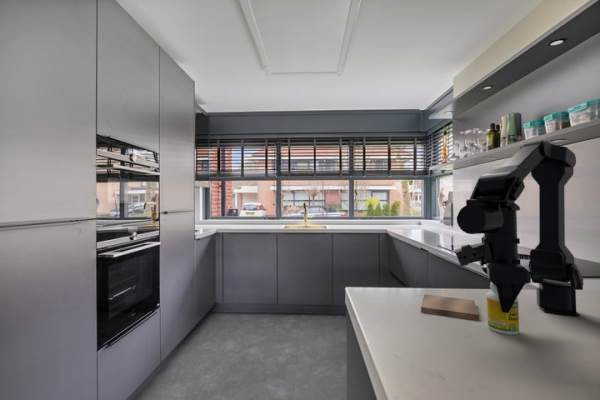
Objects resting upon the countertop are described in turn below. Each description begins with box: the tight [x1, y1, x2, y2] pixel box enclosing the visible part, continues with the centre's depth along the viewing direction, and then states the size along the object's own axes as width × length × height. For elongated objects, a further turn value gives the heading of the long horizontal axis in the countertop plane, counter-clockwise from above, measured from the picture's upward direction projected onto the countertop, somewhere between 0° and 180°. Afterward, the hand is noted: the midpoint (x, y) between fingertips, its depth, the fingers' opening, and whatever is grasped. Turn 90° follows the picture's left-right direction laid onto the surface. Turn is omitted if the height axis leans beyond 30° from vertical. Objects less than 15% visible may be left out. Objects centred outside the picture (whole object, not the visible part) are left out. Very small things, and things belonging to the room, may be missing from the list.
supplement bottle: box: [486, 281, 520, 336], centre depth 60 cm, size 5×5×10 cm
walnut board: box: [420, 294, 479, 321], centre depth 73 cm, size 12×12×1 cm
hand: (502, 307), depth 60 cm, fingers open, 6 cm apart
